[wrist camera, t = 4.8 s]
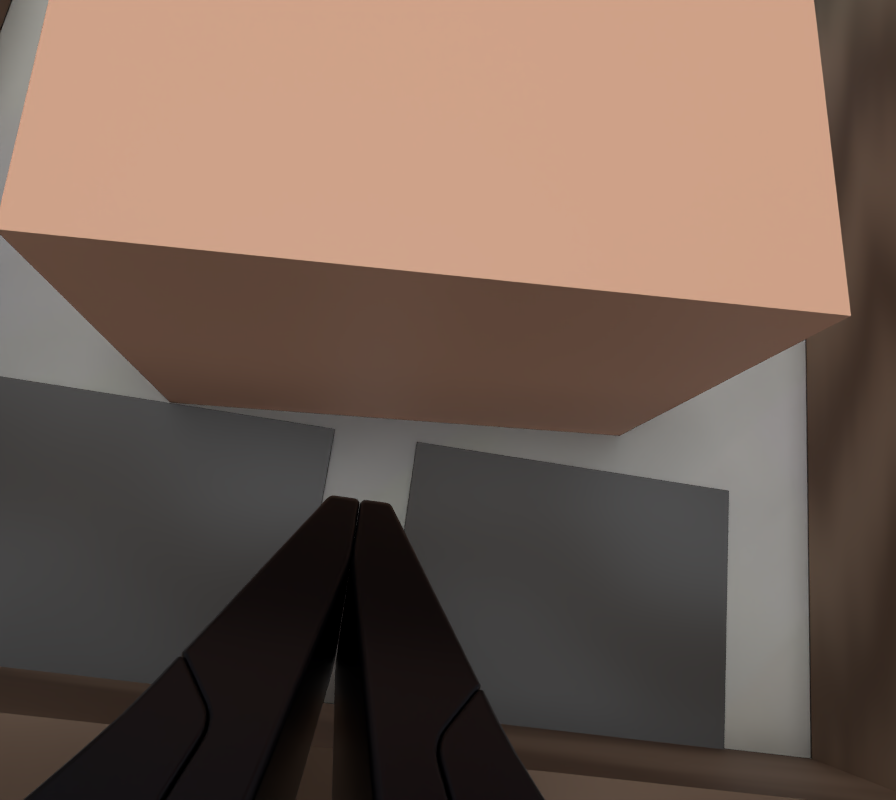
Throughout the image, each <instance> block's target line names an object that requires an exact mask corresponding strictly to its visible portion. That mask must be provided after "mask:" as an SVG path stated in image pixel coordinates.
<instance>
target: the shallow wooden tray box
mask: <svg viewBox="0 0 896 800" xmlns="http://www.w3.org/2000/svg"><path fill="white" fill-rule="evenodd" d="M10 2H11V0H0V29H1V26H2V23H3V21H4V18H5V15H6V13H7V10H8V7H9V5H10ZM814 5H815V14H816V22H817V31H818V39H819V48H820V56H821V65H822V73H823V82H824V90H825V99H826V107H827V116H828V124H829V133H830V141H831V150H832V158H833V167H834V175H835V184H836V193H837V201H838V210H839V218H840V227H841V235H842V244H843V252H844V261H845V269H846V278H847V286H848V295H849V303H850V312H851V316H850V317H848V318H846V319H844V320H842V321H840V322H838V323H836V324H834V325H832V326H830V327H828V328H826V329H825V330H823V331H821V332H819V333H817V334H815V335H813V336H811V337H809V338H807V339H806V347H807V424H808V502H809V579H810V657H811V734H812V759H809V758H800V757H792V756H783V755H774V754H765V753H757V752H748V751H739V750H731V749H724V724H725V670H726V616H727V563H728V509H729V491H727V490H720V489H714V488H707V487H701V486H695V485H688V484H682V483H676V482H669V481H663V480H657V479H650V478H644V477H637V476H631V475H625V474H618V473H612V472H606V471H599V470H593V469H586V468H580V467H574V466H567V465H561V464H555V463H548V462H542V461H535V460H529V459H523V458H516V457H510V456H504V455H497V454H491V453H485V452H478V451H472V450H465V449H459V448H453V447H446V446H440V445H434V444H427V443H421V442H417V446H416V453H415V460H414V467H413V474H412V481H411V488H410V494H409V501H408V508H407V515H406V522H405V529H404V532H405V534H406V536H407V538H408V540H409V542H410V544H411V546H412V548H413V550H414V552H415V554H416V556H417V558H418V560H419V562H420V564H421V566H422V568H423V570H424V572H425V574H426V576H427V578H428V580H429V582H430V584H431V586H432V588H433V590H434V592H435V594H436V596H437V598H438V600H439V602H440V604H441V606H442V608H443V610H444V612H445V614H446V616H447V618H448V620H449V622H450V624H451V626H452V628H453V630H454V632H455V634H456V636H457V638H458V640H459V642H460V644H461V646H462V648H463V650H464V652H465V654H466V656H467V658H468V660H469V663H470V665H471V667H472V669H473V671H474V673H475V675H476V677H477V679H478V681H479V683H480V685H481V688H480V690H483V691H484V692H485V694H486V696H487V698H488V700H489V702H490V704H491V706H492V708H493V710H494V712H495V714H496V716H497V718H498V720H499V722H500V724H501V726H502V728H503V729H504V731H505V733H506V735H507V737H508V739H509V741H510V742H511V744H512V746H513V748H514V750H515V752H516V754H517V755H518V757H519V758H520V760H521V762H522V763H523V765H524V766H525V768H526V770H527V771H528V773H529V775H530V776H531V778H532V779H533V781H534V783H535V784H536V786H537V787H538V789H539V791H540V792H541V794H542V796H543V797H544V799H545V800H896V0H814ZM334 430H335V429H332V428H325V427H319V426H313V425H306V424H300V423H293V422H287V421H281V420H274V419H268V418H262V417H255V416H249V415H243V414H236V413H230V412H223V411H217V410H211V409H204V408H198V407H192V406H185V405H179V404H172V403H166V402H160V401H153V400H147V399H141V398H134V397H128V396H121V395H115V394H109V393H102V392H96V391H90V390H83V389H77V388H71V387H64V386H58V385H51V384H45V383H39V382H32V381H26V380H20V379H13V378H7V377H0V800H23V799H24V798H26V797H27V796H28V795H29V794H30V793H31V792H33V791H34V790H35V789H36V788H37V787H38V786H40V785H41V784H42V783H43V782H44V781H45V780H47V779H48V778H49V777H50V776H51V775H52V774H54V773H55V772H56V771H57V770H58V769H60V768H61V767H62V766H63V765H64V764H65V763H67V762H68V761H69V760H70V759H71V758H72V757H74V756H75V755H76V754H77V753H78V752H79V751H81V750H82V749H83V748H84V747H85V746H86V745H87V744H88V743H90V742H91V741H92V740H93V739H94V738H95V737H96V736H97V735H99V734H100V733H101V732H102V731H103V730H104V729H105V728H106V727H107V726H109V725H110V724H111V723H112V722H113V721H114V720H115V719H116V718H118V717H119V716H120V715H121V714H122V713H123V712H124V711H125V710H126V709H127V708H128V707H129V706H130V705H131V704H132V703H133V702H134V701H135V700H136V699H137V698H138V697H139V696H140V695H141V694H142V693H143V692H144V691H145V690H146V689H147V688H148V687H149V686H150V685H151V684H152V683H153V682H154V681H155V680H156V679H157V678H158V677H159V676H160V675H161V674H162V673H163V672H164V670H165V669H166V668H167V667H168V666H169V665H170V664H171V663H172V662H173V661H174V660H175V659H176V658H177V657H179V656H182V652H183V651H184V650H185V649H186V648H187V646H188V645H189V644H190V643H191V642H192V641H193V640H194V639H195V638H196V637H197V636H198V635H199V634H200V633H201V632H202V631H203V629H204V628H205V627H206V626H207V625H208V624H209V623H210V622H211V621H212V620H213V619H214V618H215V617H216V616H217V615H218V614H219V613H220V611H221V610H222V609H223V608H224V607H225V606H226V605H227V604H228V603H229V602H230V601H231V600H232V599H233V598H234V597H235V596H236V594H237V593H238V592H239V591H240V590H241V589H242V588H243V587H244V586H245V585H246V584H247V583H248V582H249V581H250V580H251V579H252V578H253V576H254V575H255V574H256V573H257V572H258V571H259V570H260V569H261V568H262V567H263V566H264V565H265V564H266V563H267V562H268V561H269V559H270V558H271V557H272V556H273V555H274V554H275V553H276V552H277V551H278V550H279V549H280V548H281V547H282V546H283V545H284V544H285V542H286V541H287V540H288V539H289V538H290V537H291V536H292V535H293V534H294V533H295V532H296V531H297V530H298V529H299V528H300V527H301V526H302V524H303V523H304V522H305V521H306V520H307V519H308V518H309V517H310V516H311V515H312V514H313V513H314V512H315V511H316V510H317V509H318V507H319V506H320V505H321V503H322V497H323V492H324V486H325V481H326V475H327V469H328V464H329V458H330V453H331V447H332V442H333V436H334ZM333 735H334V704H330V703H323V705H322V709H321V712H320V716H319V719H318V723H317V726H316V730H315V733H314V737H313V740H312V744H311V747H310V751H309V754H308V758H307V761H306V765H305V768H304V772H303V775H302V779H301V782H300V786H299V789H298V793H297V796H296V800H332V773H333Z"/></svg>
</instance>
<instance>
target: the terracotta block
mask: <svg viewBox="0 0 896 800" xmlns="http://www.w3.org/2000/svg"><path fill="white" fill-rule="evenodd" d="M0 235H1V236H2V237H3V238H4V239H5V240H6V241H7V242H8V243H9V244H10V245H11V246H12V247H13V248H15V249H16V250H17V251H18V252H19V253H20V254H21V255H22V256H23V257H24V258H25V259H26V260H27V261H28V262H29V263H30V264H31V265H32V266H33V267H34V268H35V269H36V270H37V271H38V272H39V273H40V274H41V275H42V276H43V277H44V278H45V279H46V280H47V281H48V282H49V283H50V284H51V285H52V286H53V287H54V288H55V289H56V290H57V291H58V292H59V293H60V294H61V295H62V296H63V297H64V298H65V299H66V300H67V301H68V302H69V303H70V304H71V305H72V306H73V307H74V308H75V309H76V310H77V311H78V312H79V313H80V314H81V315H82V316H83V317H84V318H85V319H86V320H87V321H88V322H89V323H90V324H91V325H92V326H93V327H94V328H95V329H96V330H97V331H98V332H99V333H100V334H101V335H103V336H104V337H105V338H106V339H107V340H108V341H109V342H110V343H111V344H112V345H113V346H114V347H115V348H116V349H117V350H118V351H119V352H120V353H121V354H122V355H123V356H124V357H125V358H126V359H127V360H128V361H129V362H130V363H131V364H132V365H133V366H134V367H135V368H136V369H137V370H138V371H139V372H140V373H141V374H142V375H143V376H144V377H145V378H146V379H147V380H148V381H149V382H150V383H151V384H152V385H153V386H154V387H155V388H156V389H157V390H158V391H159V392H160V393H161V394H162V395H163V396H164V397H165V398H166V399H167V400H168V401H169V402H170V403H183V404H197V405H210V406H224V407H237V408H251V409H265V410H278V411H292V412H305V413H319V414H333V415H346V416H360V417H373V418H387V419H400V420H414V421H428V422H441V423H455V424H468V425H482V426H496V427H509V428H523V429H536V430H550V431H564V432H577V433H591V434H604V435H618V436H620V435H622V434H624V433H625V432H627V431H629V430H631V429H633V428H635V427H637V426H639V425H641V424H643V423H645V422H647V421H649V420H651V419H653V418H654V417H656V416H658V415H660V414H662V413H664V412H666V411H668V410H670V409H672V408H674V407H676V406H678V405H680V404H682V403H683V402H685V401H687V400H689V399H691V398H693V397H695V396H697V395H699V394H701V393H703V392H705V391H707V390H709V389H711V388H712V387H714V386H716V385H718V384H720V383H722V382H724V381H726V380H728V379H730V378H732V377H734V376H736V375H738V374H739V373H741V372H743V371H745V370H747V369H749V368H751V367H753V366H755V365H757V364H759V363H761V362H763V361H765V360H767V359H768V358H770V357H772V356H774V355H776V354H778V353H780V352H782V351H784V350H786V349H788V348H790V347H792V346H794V345H796V344H797V343H799V342H801V341H803V340H805V339H807V338H809V337H811V336H813V335H815V334H817V333H819V332H821V331H823V330H825V329H826V328H828V327H830V326H832V325H834V324H836V323H838V322H840V321H842V320H844V319H846V318H848V317H850V316H851V312H850V303H849V295H848V286H847V278H846V269H845V261H844V252H843V244H842V235H841V227H840V218H839V210H838V201H837V193H836V184H835V175H834V167H833V158H832V150H831V141H830V133H829V124H828V116H827V107H826V99H825V90H824V82H823V73H822V65H821V56H820V48H819V39H818V31H817V22H816V14H815V5H814V0H49V2H48V6H47V10H46V14H45V18H44V23H43V27H42V31H41V35H40V40H39V44H38V48H37V52H36V57H35V61H34V65H33V69H32V74H31V78H30V82H29V86H28V91H27V95H26V99H25V103H24V107H23V112H22V116H21V120H20V124H19V129H18V133H17V137H16V141H15V146H14V150H13V154H12V158H11V163H10V167H9V171H8V175H7V179H6V184H5V188H4V192H3V196H2V201H1V205H0Z"/></svg>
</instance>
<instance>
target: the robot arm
mask: <svg viewBox="0 0 896 800" xmlns="http://www.w3.org/2000/svg"><path fill="white" fill-rule="evenodd" d="M358 511H359V513H358ZM357 517H358V519H357ZM356 524H357V525H356ZM355 531H356V532H355ZM354 537H355V538H354ZM347 582H348V583H347ZM345 595H346V596H345ZM344 601H345V602H344ZM343 607H344V609H343ZM342 614H343V615H342ZM341 620H342V622H341ZM340 626H341V628H340ZM339 633H340V635H339ZM338 639H339V641H338ZM337 645H338V649H337ZM336 650H337V657H336V670H335V697H334V735H333V773H332V800H545V799H544V797H543V796H542V794H541V792H540V791H539V789H538V787H537V786H536V784H535V783H534V781H533V779H532V778H531V776H530V775H529V773H528V771H527V770H526V768H525V766H524V765H523V763H522V762H521V760H520V758H519V757H518V755H517V754H516V752H515V750H514V748H513V746H512V744H511V742H510V741H509V739H508V737H507V735H506V733H505V731H504V729H503V728H502V726H501V724H500V722H499V720H498V718H497V716H496V714H495V712H494V710H493V708H492V706H491V704H490V702H489V700H488V698H487V696H486V694H485V692H484V691H483V690H480V688H481V685H480V683H479V681H478V679H477V677H476V675H475V673H474V671H473V669H472V667H471V665H470V663H469V660H468V658H467V656H466V654H465V652H464V650H463V648H462V646H461V644H460V642H459V640H458V638H457V636H456V634H455V632H454V630H453V628H452V626H451V624H450V622H449V620H448V618H447V616H446V614H445V612H444V610H443V608H442V606H441V604H440V602H439V600H438V598H437V596H436V594H435V592H434V590H433V588H432V586H431V584H430V582H429V580H428V578H427V576H426V574H425V572H424V570H423V568H422V566H421V564H420V562H419V560H418V558H417V556H416V554H415V552H414V550H413V548H412V546H411V544H410V542H409V540H408V538H407V536H406V534H405V532H404V530H403V528H402V526H401V524H400V522H399V520H398V518H397V516H396V514H395V512H394V510H393V508H392V506H391V505H390V504H388V503H384V502H377V501H369V500H364V501H362V502H361V503H360V506H359V501H358V500H357V499H355V498H348V497H341V496H330V497H328V498H327V499H326V500H325V501H324V502H323V503H322V504H321V505H320V506H319V507H318V509H317V510H316V511H315V512H314V513H313V514H312V515H311V516H310V517H309V518H308V519H307V520H306V521H305V522H304V523H303V524H302V526H301V527H300V528H299V529H298V530H297V531H296V532H295V533H294V534H293V535H292V536H291V537H290V538H289V539H288V540H287V541H286V542H285V544H284V545H283V546H282V547H281V548H280V549H279V550H278V551H277V552H276V553H275V554H274V555H273V556H272V557H271V558H270V559H269V561H268V562H267V563H266V564H265V565H264V566H263V567H262V568H261V569H260V570H259V571H258V572H257V573H256V574H255V575H254V576H253V578H252V579H251V580H250V581H249V582H248V583H247V584H246V585H245V586H244V587H243V588H242V589H241V590H240V591H239V592H238V593H237V594H236V596H235V597H234V598H233V599H232V600H231V601H230V602H229V603H228V604H227V605H226V606H225V607H224V608H223V609H222V610H221V611H220V613H219V614H218V615H217V616H216V617H215V618H214V619H213V620H212V621H211V622H210V623H209V624H208V625H207V626H206V627H205V628H204V629H203V631H202V632H201V633H200V634H199V635H198V636H197V637H196V638H195V639H194V640H193V641H192V642H191V643H190V644H189V645H188V646H187V648H186V649H185V650H184V651H183V652H182V656H179V657H177V658H176V659H175V660H174V661H173V662H172V663H171V664H170V665H169V666H168V667H167V668H166V669H165V670H164V672H163V673H162V674H161V675H160V676H159V677H158V678H157V679H156V680H155V681H154V682H153V683H152V684H151V685H150V686H149V687H148V688H147V689H146V690H145V691H144V692H143V693H142V694H141V695H140V696H139V697H138V698H137V699H136V700H135V701H134V702H133V703H132V704H131V705H130V706H129V707H128V708H127V709H126V710H125V711H124V712H123V713H122V714H121V715H120V716H119V717H118V718H116V719H115V720H114V721H113V722H112V723H111V724H110V725H109V726H107V727H106V728H105V729H104V730H103V731H102V732H101V733H100V734H99V735H97V736H96V737H95V738H94V739H93V740H92V741H91V742H90V743H88V744H87V745H86V746H85V747H84V748H83V749H82V750H81V751H79V752H78V753H77V754H76V755H75V756H74V757H72V758H71V759H70V760H69V761H68V762H67V763H65V764H64V765H63V766H62V767H61V768H60V769H58V770H57V771H56V772H55V773H54V774H52V775H51V776H50V777H49V778H48V779H47V780H45V781H44V782H43V783H42V784H41V785H40V786H38V787H37V788H36V789H35V790H34V791H33V792H31V793H30V794H29V795H28V796H27V797H26V798H24V799H23V800H296V796H297V793H298V789H299V786H300V782H301V779H302V775H303V772H304V768H305V765H306V761H307V758H308V754H309V751H310V747H311V744H312V740H313V737H314V733H315V730H316V726H317V723H318V719H319V716H320V712H321V709H322V705H323V702H324V698H325V695H326V691H327V688H328V684H329V681H330V677H331V673H332V669H333V665H334V661H335V656H336Z"/></svg>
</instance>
